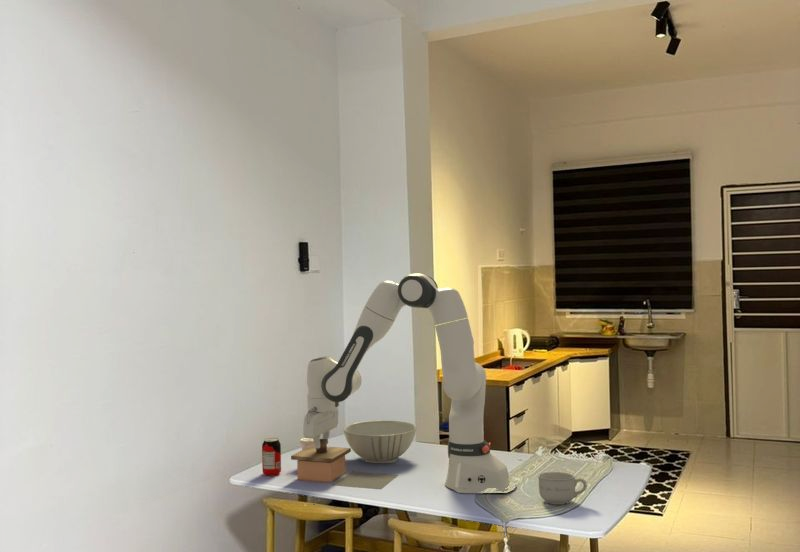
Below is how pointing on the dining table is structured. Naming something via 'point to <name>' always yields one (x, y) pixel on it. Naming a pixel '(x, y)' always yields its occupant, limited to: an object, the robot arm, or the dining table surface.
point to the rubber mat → (366, 480)
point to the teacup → (559, 487)
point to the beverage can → (271, 456)
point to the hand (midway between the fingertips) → (321, 446)
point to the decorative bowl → (380, 439)
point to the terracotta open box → (320, 470)
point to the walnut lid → (321, 453)
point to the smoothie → (306, 442)
